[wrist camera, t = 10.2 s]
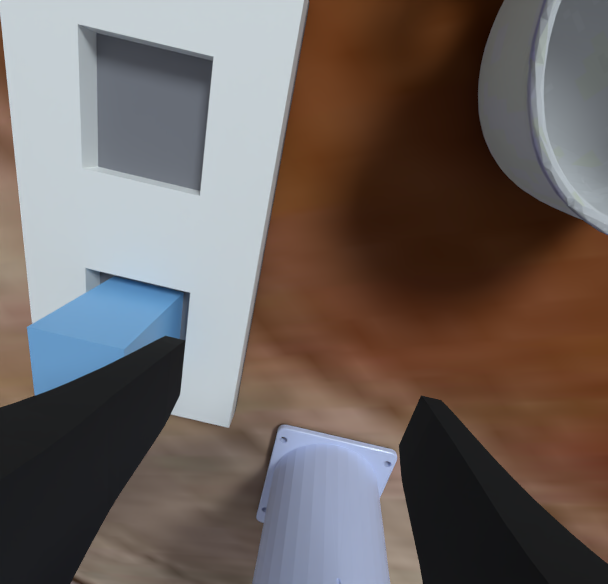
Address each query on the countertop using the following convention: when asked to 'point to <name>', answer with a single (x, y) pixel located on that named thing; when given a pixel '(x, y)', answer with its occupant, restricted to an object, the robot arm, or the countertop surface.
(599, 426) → the countertop surface
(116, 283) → the plug
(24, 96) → the panel
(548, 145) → the teacup
